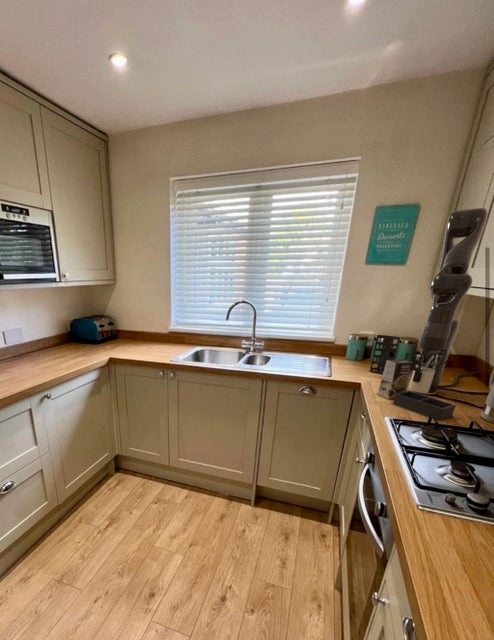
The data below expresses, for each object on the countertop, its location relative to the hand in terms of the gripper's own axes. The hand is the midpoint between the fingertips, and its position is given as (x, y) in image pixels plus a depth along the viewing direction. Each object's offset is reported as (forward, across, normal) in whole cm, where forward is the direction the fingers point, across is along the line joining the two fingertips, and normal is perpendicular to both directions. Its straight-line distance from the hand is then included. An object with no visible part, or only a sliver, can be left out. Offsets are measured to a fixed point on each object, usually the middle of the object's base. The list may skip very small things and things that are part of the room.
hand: (421, 380), depth 121 cm
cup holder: (+15, +11, +2) cm, 19 cm away
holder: (+15, +47, +43) cm, 66 cm away
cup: (+4, 0, 0) cm, 4 cm away
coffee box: (+15, +15, +17) cm, 27 cm away
